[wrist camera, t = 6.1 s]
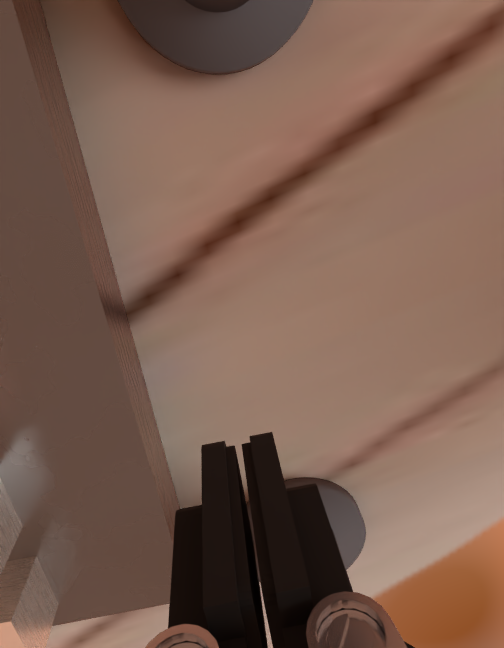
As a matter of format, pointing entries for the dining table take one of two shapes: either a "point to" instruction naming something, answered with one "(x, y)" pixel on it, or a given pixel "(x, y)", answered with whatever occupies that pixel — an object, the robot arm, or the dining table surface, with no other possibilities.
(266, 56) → the knob
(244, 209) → the dining table surface
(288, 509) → the robot arm
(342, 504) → the post
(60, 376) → the breaker panel
